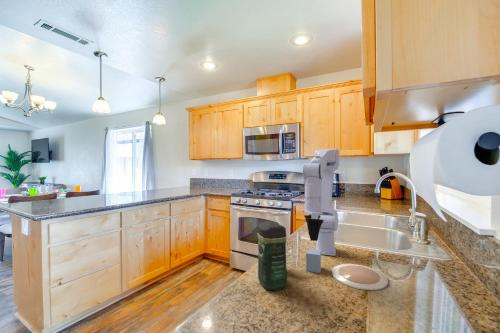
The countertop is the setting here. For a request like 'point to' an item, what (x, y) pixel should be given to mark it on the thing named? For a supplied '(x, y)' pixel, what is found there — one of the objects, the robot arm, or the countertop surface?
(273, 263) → the coffee jar
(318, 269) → the block
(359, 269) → the plate
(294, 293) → the countertop surface
